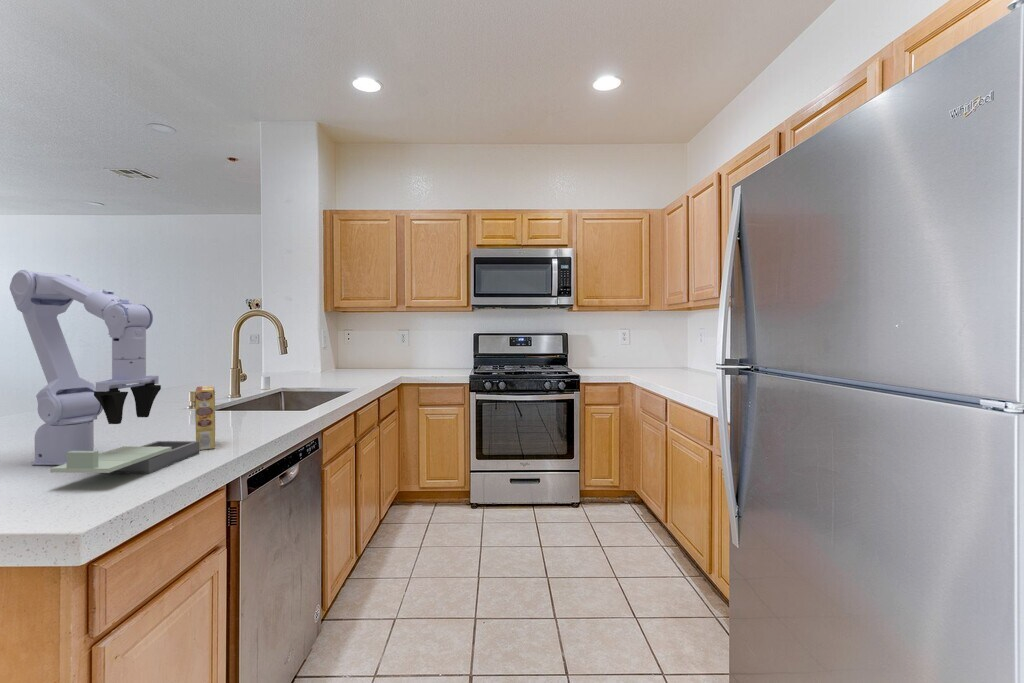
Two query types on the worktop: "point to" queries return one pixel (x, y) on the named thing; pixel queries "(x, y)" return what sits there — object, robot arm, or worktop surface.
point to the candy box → (205, 417)
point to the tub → (163, 457)
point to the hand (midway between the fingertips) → (129, 420)
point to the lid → (107, 459)
